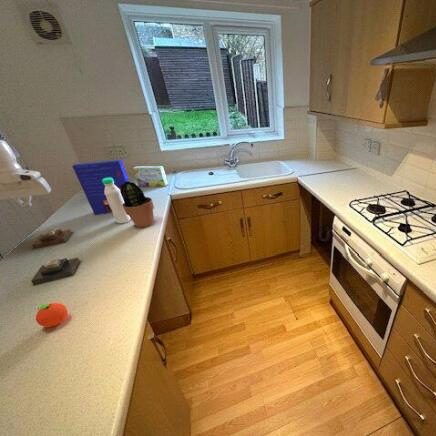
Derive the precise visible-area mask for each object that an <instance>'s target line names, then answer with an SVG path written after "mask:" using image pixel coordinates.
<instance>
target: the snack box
mask: <svg viewBox="0 0 436 436" xmlns="http://www.w3.org/2000/svg"><path fill="white" fill-rule="evenodd" d="M132 171H133V174H134V177H135V180H136V182H137V186H138V187H166V186H168V185H169V182H168V178H167V175H166V171H165V168H164V166H163V165H135V166H134V167H132Z"/></svg>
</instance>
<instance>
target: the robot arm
mask: <svg viewBox="0 0 436 436" xmlns="http://www.w3.org/2000/svg"><path fill="white" fill-rule="evenodd" d="M51 192H52V188H51V186H50V184H49V182H47V180H46V179H45V178H44V177H42V176H41V171H37V170H30V169H23V167H22V166H21V165H20V164H19V163H18V161H17V157H16V154H15V153H14V151H13V150H12V148H11V146H9V144H8V143H7V141H5V140H4V139H3V138H0V201H7V200H13V201H14V202H15V203H16V204H19V205H20V206H21V208H27V207H32V206H33V203H32V198H33V197H37V196H44V195H49V194H50V193H51ZM23 198H24V200H26V201H23V200H21V199H23Z"/></svg>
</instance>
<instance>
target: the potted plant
mask: <svg viewBox="0 0 436 436" xmlns="http://www.w3.org/2000/svg"><path fill="white" fill-rule="evenodd" d="M121 195H122V197H123V200H124V203H123V208H124V210H125V212H126V214H127V215H129V216H130V218H131V219H130V220H131V221H132V222H133V224H134V225H135V227H136V228H146V227H149V226H152V225H153V224H154V223H155V220H154V219H155V218H154V216H155V215H154V208H155V206H154V202H153V198H152V197H149V196H145V193H144V191H143V189H142V188H140V186H139V185H138V184H136V182H133V181H132V182H131V181H129V182H128V181H127V182H125V183H124V184H123V185H121Z"/></svg>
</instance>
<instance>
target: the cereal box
mask: <svg viewBox="0 0 436 436" xmlns="http://www.w3.org/2000/svg"><path fill="white" fill-rule="evenodd" d="M72 169H73V171H74V173H75V175H76V178H77V179H78V182H79V184H80V186H81V189H82V191H83V193H84V195H85V197H86V199H87V201H88V203H89V206H90V208H91V210H92V212H93V214H94V216H96V215H97V216H98V215H103V214H111V213H113V212H112V210H111V208H110V205H109V203H108V201H107V198H106V195H105V194H104V190H105V185H104V184H103V182H102V179H104V178H113V180H114V185H116V186H117V187H118V188H119V189H120V193H121V185H123V184H124V183H125V182H127V181H128V182H130V180H129V177H128V174H127V171H126V168H125V166H124V163H123V160H122V159H121V158H120V159H111V160H109V159H108V160H99V161H89V162H79V163H75V164H73V165H72Z"/></svg>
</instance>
